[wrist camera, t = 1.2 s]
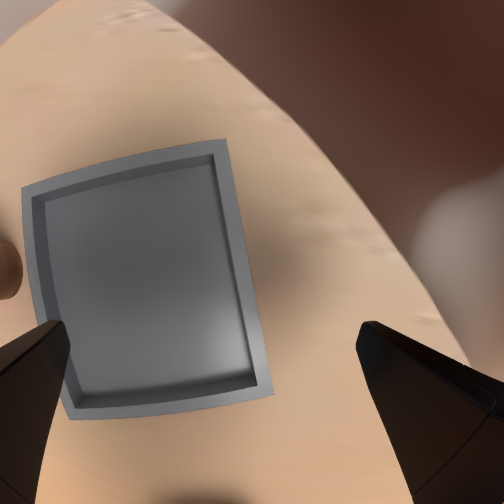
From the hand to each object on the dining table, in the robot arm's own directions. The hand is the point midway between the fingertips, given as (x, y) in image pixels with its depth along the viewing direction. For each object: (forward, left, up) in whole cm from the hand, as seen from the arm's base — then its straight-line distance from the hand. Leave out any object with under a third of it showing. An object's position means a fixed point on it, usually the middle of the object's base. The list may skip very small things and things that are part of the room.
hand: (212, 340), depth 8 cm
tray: (-3, +4, -14) cm, 15 cm away
